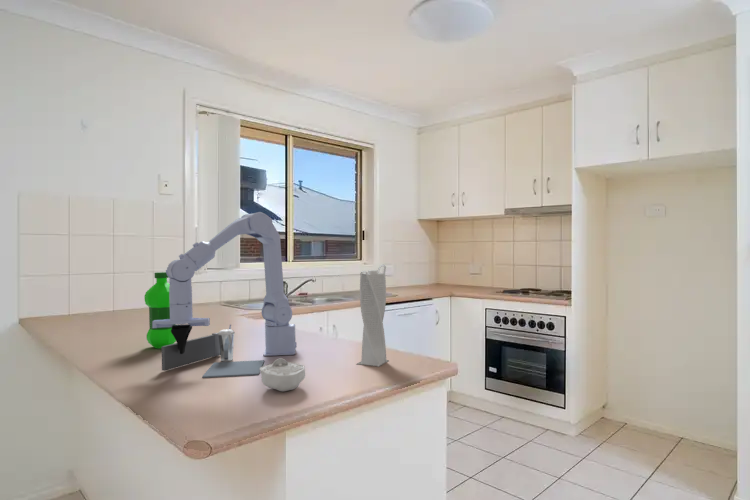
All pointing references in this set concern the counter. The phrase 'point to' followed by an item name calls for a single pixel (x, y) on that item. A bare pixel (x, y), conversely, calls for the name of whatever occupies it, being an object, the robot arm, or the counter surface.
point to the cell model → (282, 375)
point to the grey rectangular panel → (190, 351)
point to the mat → (234, 369)
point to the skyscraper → (373, 317)
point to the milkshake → (226, 344)
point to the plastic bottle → (159, 311)
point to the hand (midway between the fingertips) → (182, 353)
